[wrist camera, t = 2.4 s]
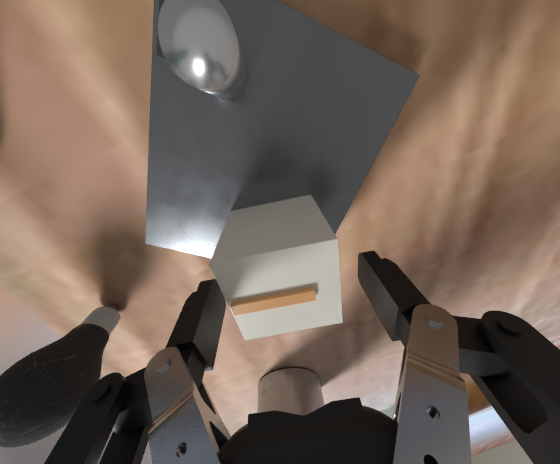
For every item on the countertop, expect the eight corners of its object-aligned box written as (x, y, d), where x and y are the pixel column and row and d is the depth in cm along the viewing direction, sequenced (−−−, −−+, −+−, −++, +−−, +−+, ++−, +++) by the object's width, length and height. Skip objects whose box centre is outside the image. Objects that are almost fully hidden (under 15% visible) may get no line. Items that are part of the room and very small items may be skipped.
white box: (310, 194, 15) (339, 242, 9) (318, 259, 17) (344, 327, 12) (229, 211, 15) (207, 268, 9) (251, 272, 18) (244, 345, 12)
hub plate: (404, 79, 13) (500, 52, 8) (307, 269, 20) (322, 323, 15) (170, -39, 10) (63, -218, 5) (154, 233, 17) (105, 284, 12)
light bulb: (67, 297, 20) (-90, 439, 11) (117, 282, 19) (-6, 418, 10) (108, 331, 22) (7, 466, 14) (153, 318, 22) (78, 451, 13)
